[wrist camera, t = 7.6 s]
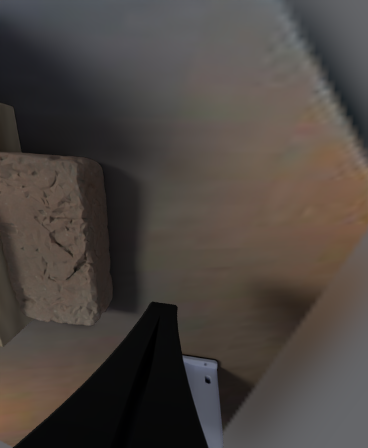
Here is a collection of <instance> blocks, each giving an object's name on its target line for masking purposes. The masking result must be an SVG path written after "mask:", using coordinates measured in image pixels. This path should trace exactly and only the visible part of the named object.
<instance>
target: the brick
mask: <svg viewBox="0 0 368 448" xmlns="http://www.w3.org/2000/svg"><path fill="white" fill-rule="evenodd" d="M107 225H108V217H107V205H106V193H105V188H104V175H103V170H102V168H101V166H100V165H99V163H97V162H96V161H94V160H91V159H88V158H85V157H75V156H61V155H45V154H32V153H19V152H0V232H1V233H2V234H1V241H2V244H3V250H4V254H5V259H6V262H7V267H8V271H9V276H10V279H11V285H12V288H13V290H14V291H15V292H16V294H15V296H16V299H17V300H18V301H19V303H20V310H21V312H22V313H23V314H24V315H26V316H28V317H30V318H34V319H37V320H41V321H46V322H49V321H55V322H58V323H66V322H67V323H69V324H76V325H80V324H83V325H87V326H90V325H94V324H95V323H96V322H97V321H98V320H99V319H100V317H101V313H103V312H105V311H106V310H107V308H108V306H109V304H110V302H111V300H112V297H113V284H112V277H111V275H110V272H109V271H110V263H111V259H110V253H109V244H110V243H109V234H108V228H107Z"/></svg>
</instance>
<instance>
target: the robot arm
mask: <svg viewBox="0 0 368 448" xmlns="http://www.w3.org/2000/svg"><path fill="white" fill-rule="evenodd" d="M177 308H178V307H177V306H176V305H172V304H165V303H158V302H151V303H150V304H149V306H148V308H147V309H146V311H145V312H144V314H143V315H142V317H141V318H140V319H139V321H138V322H137V323H136V325H135V326H134V327H133V329H132V330H131V331H130V332H129V334H128V335H127V336H126V338H125V339H124V340H123V341H122V342H121V344H120V345H119V346H118V347H117V348H116V349H115V350H114V352H113V353H112V354H111V355H110V356H109V357H108V358H107V360H106V361H105V362H104V363H103V364H102V365H101V366H100V367H99V368H98V369H97V370H96V371H95V372H94V373H93V374H92V375H91V377H90V378H89V379H88V380H87V381H86V382H85V383H84V384H83V385H82V386H81V387H80V388H78V389H77V390H76V391H75V392H74V393H73V394H72V395H71V396H70V397H69V398H68V399H67V400H66V401H65V402H64V403H63V404H62V405H61V406H60V407H59V408H57V409H56V410H55V411H54V412H53V413H52V414H51V415H50V416H49V417H48V418H46V419H45V420H44V421H43V422H42V423H41V424H40V425H38V426H37V427H36V428H35V429H34V430H33V431H32V432H30V433H29V434H28V435H27V436H26V437H25V438H23V439H22V440H21V441H20V442H19V443H18V444H17V445H15V446H14V447H13V448H223V432H222V421H221V410H220V399H219V389H218V378H217V362H216V361H215V360H209V359H203V358H196V357H190V356H183V355H182V351H181V345H180V339H179V333H178V323H177Z"/></svg>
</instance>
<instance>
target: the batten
mask: <svg viewBox="0 0 368 448" xmlns="http://www.w3.org/2000/svg"><path fill="white" fill-rule="evenodd" d="M0 152H19V153H22V152H21V146H20V141H19V135H18V130H17V124H16V119H15V113H14V108H13V107H12V106H9V105H6V104H3V103H0ZM1 234H2V233H1V232H0V347H4V346H5V345H6V344H7V343H8V342H9V341H10V340H11V339H12V338H13V337H15V336H16V335H17V334H18V333H19V332H20V331H21V330H22V329H23V328H24V327H25V326H27V325H28V324H29V323H30V322H31V321H32V320H33V319H34V318H30V317H28V316H26V315H24V314H23V313H22V312H21V310H20V303H19V301H18V300H17V299H16V296H15V294H16V292H15V291H14V290H13V288H12V285H11V279H10V276H9V271H8V267H7V262H6V259H5V254H4V250H3V244H2V241H1Z"/></svg>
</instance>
